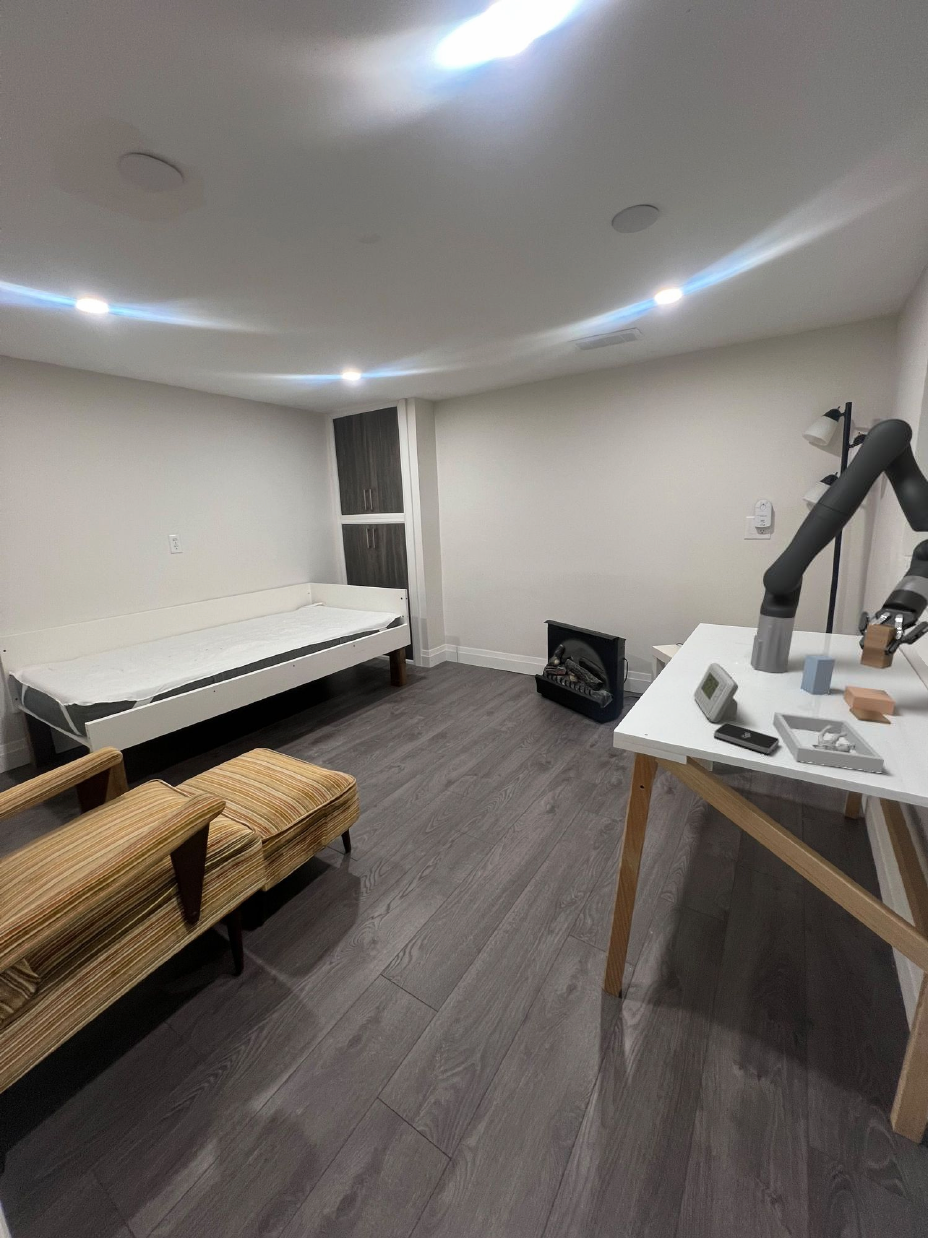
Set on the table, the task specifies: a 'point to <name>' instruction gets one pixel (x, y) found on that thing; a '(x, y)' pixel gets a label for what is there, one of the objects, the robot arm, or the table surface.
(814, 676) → the slate pillar
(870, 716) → the walnut swatch
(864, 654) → the walnut pillar
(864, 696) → the terracotta block
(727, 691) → the digital clock
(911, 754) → the table surface
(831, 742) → the soldier figure
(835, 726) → the grey display tray
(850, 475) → the robot arm
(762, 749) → the external hard drive
